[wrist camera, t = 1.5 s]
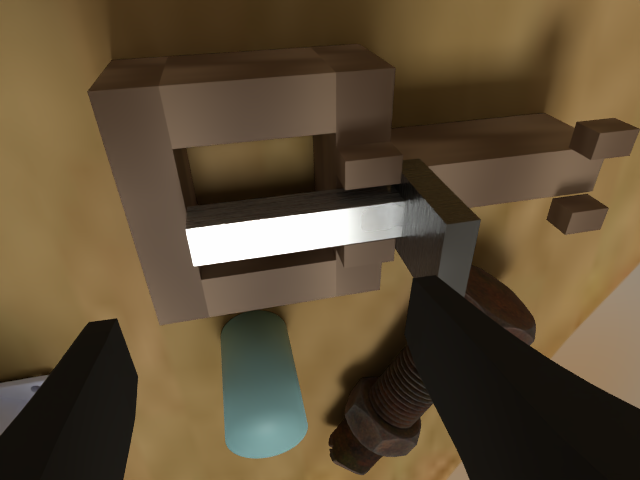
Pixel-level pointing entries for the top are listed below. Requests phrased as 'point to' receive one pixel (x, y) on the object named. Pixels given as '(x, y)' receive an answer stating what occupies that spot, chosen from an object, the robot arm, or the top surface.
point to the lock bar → (346, 225)
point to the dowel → (260, 387)
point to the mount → (315, 163)
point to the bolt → (412, 387)
